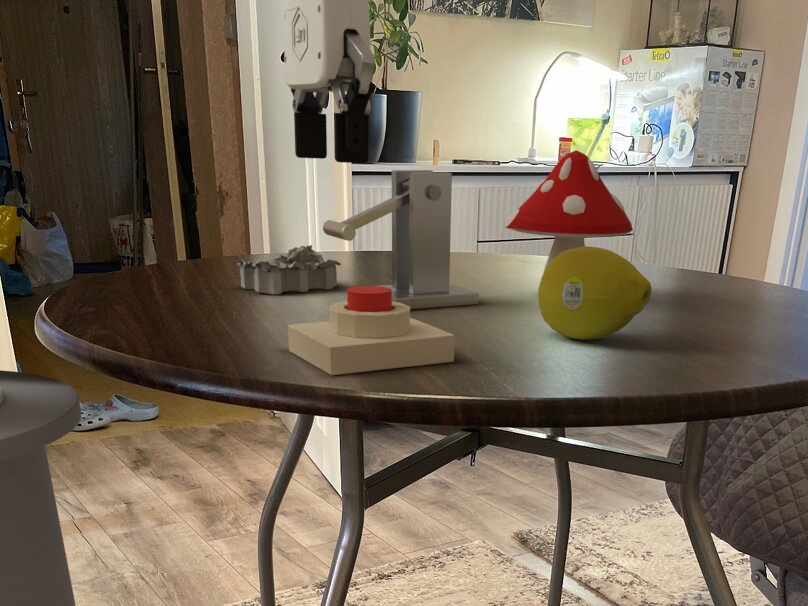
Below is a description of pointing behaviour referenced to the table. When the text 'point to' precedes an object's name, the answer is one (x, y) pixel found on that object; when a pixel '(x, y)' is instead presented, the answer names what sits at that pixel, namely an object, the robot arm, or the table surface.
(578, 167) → the decorative mushroom
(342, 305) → the control block
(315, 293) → the table surface
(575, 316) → the lemon
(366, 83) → the robot arm
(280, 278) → the egg carton
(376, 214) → the tap lever
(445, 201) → the grey lever stand
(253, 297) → the table surface
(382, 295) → the button
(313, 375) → the table surface
